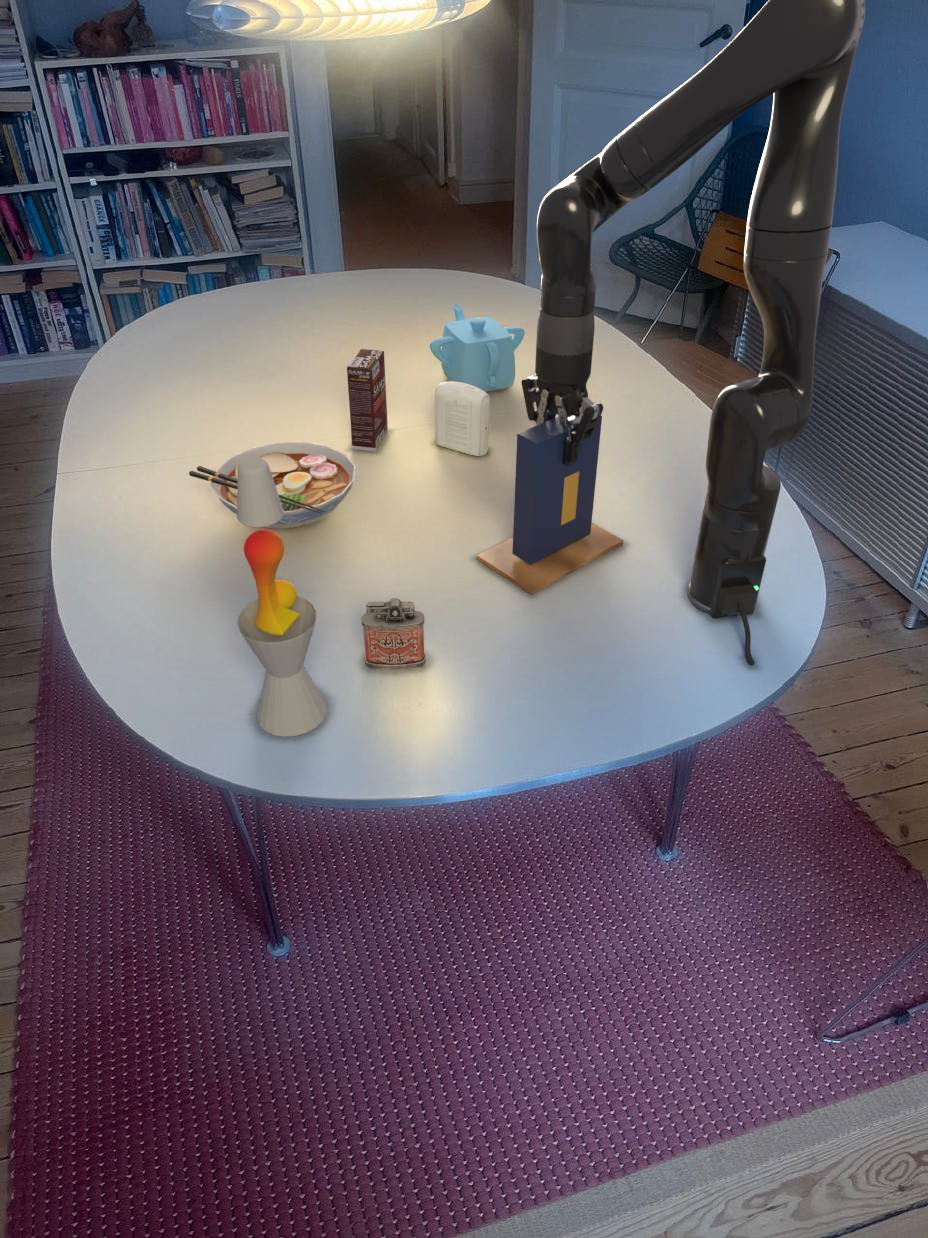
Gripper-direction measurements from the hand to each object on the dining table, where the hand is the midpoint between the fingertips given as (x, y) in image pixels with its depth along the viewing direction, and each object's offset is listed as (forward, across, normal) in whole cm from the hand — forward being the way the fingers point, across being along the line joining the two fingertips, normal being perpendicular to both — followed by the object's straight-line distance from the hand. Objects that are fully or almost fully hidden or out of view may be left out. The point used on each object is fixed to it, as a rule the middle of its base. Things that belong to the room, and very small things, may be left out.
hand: (557, 456), depth 136 cm
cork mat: (+16, 0, 0) cm, 16 cm away
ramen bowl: (+17, +36, +24) cm, 46 cm away
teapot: (+17, +55, -33) cm, 66 cm away
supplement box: (+17, +48, -1) cm, 51 cm away
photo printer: (+17, +35, -12) cm, 40 cm away
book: (+5, 0, +6) cm, 8 cm away
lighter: (+17, -5, +34) cm, 38 cm away
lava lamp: (+17, -4, +50) cm, 53 cm away
